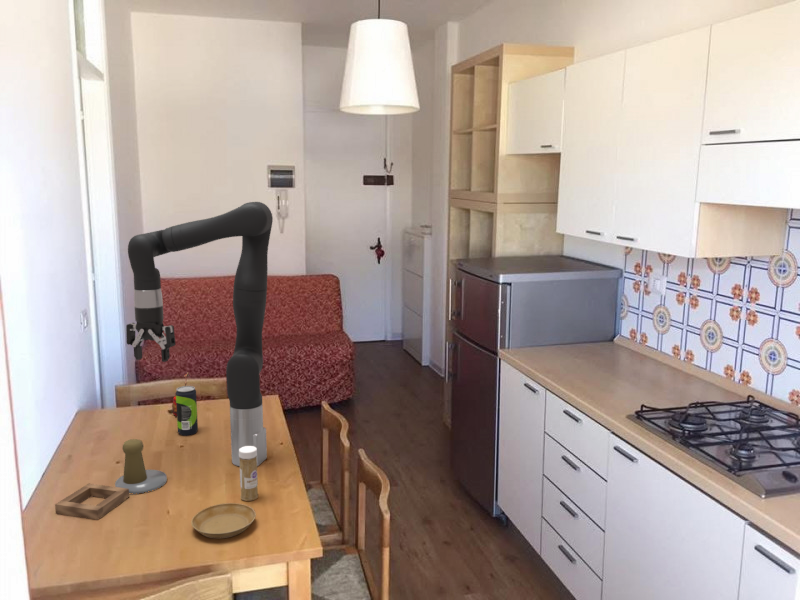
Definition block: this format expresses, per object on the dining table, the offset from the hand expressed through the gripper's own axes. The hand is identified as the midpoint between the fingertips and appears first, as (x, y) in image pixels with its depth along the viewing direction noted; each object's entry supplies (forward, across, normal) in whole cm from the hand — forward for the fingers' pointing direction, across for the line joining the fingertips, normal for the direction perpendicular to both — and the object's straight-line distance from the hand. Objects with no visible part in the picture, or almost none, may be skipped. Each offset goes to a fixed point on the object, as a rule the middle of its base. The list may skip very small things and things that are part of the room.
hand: (152, 360), depth 192 cm
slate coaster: (+30, -5, +15) cm, 34 cm away
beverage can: (+30, +3, -21) cm, 37 cm away
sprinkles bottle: (+30, -37, +15) cm, 50 cm away
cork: (+29, -3, +15) cm, 33 cm away
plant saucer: (+31, -38, +30) cm, 57 cm away
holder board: (+30, -1, +29) cm, 42 cm away
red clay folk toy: (+30, +14, -36) cm, 49 cm away
